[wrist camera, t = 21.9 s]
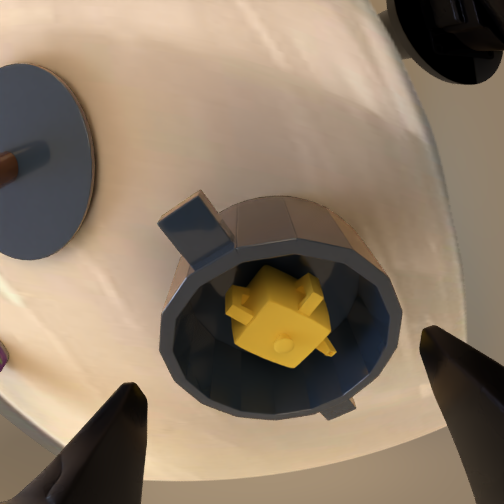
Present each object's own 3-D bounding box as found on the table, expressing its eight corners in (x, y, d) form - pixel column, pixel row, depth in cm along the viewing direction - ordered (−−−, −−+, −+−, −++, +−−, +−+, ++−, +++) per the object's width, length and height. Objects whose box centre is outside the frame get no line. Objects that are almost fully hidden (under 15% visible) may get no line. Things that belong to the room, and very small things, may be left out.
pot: (291, 117, 18) (315, 127, 12) (397, 326, 25) (426, 382, 19) (116, 233, 21) (76, 285, 15) (262, 391, 28) (265, 450, 22)
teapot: (352, 285, 22) (375, 332, 18) (303, 338, 24) (314, 389, 20) (258, 229, 20) (263, 272, 16) (213, 294, 22) (206, 346, 18)
